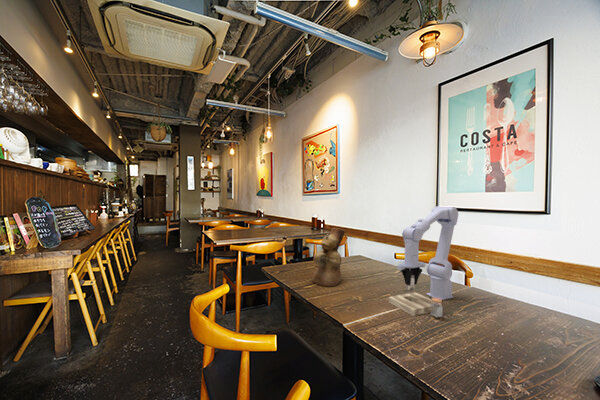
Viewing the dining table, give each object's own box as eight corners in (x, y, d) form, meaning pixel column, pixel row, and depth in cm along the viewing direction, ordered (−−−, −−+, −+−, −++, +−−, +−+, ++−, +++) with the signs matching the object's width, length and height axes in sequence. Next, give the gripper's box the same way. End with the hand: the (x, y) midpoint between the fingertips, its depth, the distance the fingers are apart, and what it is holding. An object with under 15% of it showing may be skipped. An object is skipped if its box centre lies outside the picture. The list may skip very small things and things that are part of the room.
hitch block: (415, 297, 120) (415, 292, 120) (441, 309, 107) (441, 304, 107) (388, 302, 114) (389, 296, 114) (413, 316, 101) (413, 309, 101)
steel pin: (410, 288, 115) (411, 272, 115) (416, 290, 112) (416, 274, 112) (405, 288, 114) (405, 273, 114) (410, 291, 111) (410, 275, 111)
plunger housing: (435, 313, 102) (435, 303, 102) (442, 316, 100) (442, 306, 100) (430, 314, 101) (430, 304, 101) (436, 317, 98) (437, 307, 98)
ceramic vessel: (306, 281, 141) (307, 228, 140) (332, 273, 155) (332, 225, 155) (327, 289, 129) (328, 231, 129) (353, 280, 144) (354, 228, 143)
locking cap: (435, 307, 103) (435, 296, 103) (443, 311, 99) (443, 300, 99) (429, 308, 101) (429, 298, 101) (437, 312, 98) (437, 301, 98)
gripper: (416, 251, 119) (415, 279, 119) (392, 253, 113) (391, 283, 114) (429, 254, 112) (428, 284, 112) (404, 257, 107) (403, 288, 107)
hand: (410, 284), depth 113 cm, fingers closed on steel pin, 3 cm apart
